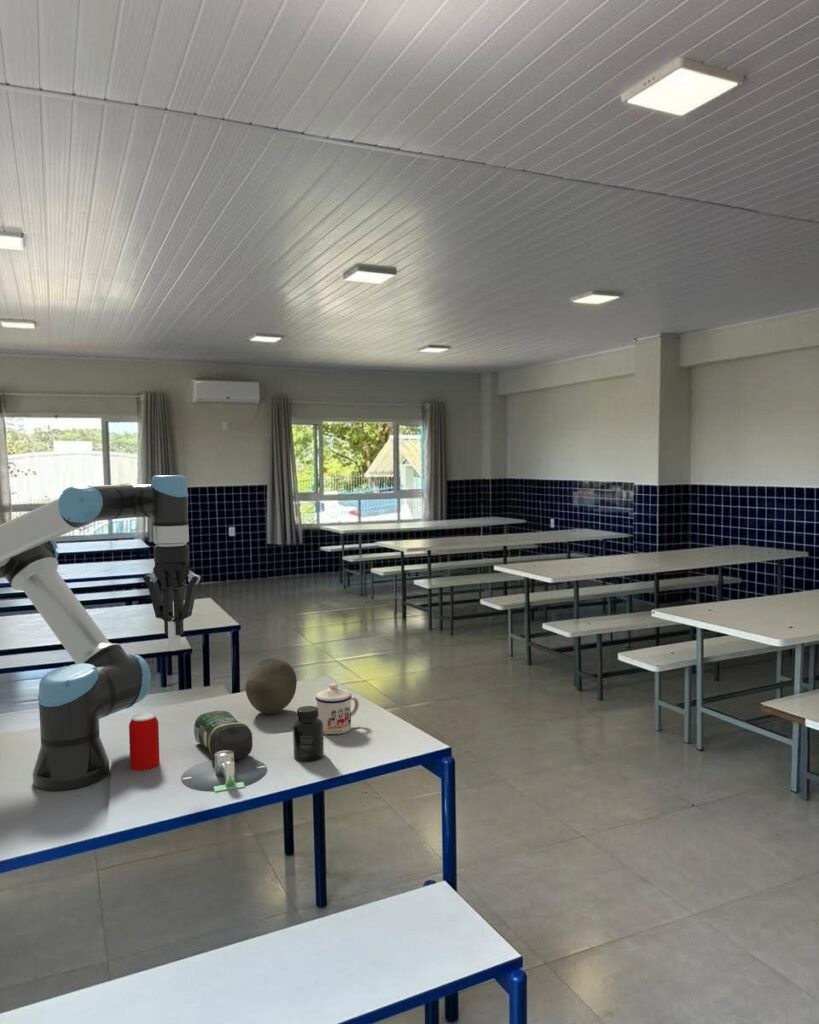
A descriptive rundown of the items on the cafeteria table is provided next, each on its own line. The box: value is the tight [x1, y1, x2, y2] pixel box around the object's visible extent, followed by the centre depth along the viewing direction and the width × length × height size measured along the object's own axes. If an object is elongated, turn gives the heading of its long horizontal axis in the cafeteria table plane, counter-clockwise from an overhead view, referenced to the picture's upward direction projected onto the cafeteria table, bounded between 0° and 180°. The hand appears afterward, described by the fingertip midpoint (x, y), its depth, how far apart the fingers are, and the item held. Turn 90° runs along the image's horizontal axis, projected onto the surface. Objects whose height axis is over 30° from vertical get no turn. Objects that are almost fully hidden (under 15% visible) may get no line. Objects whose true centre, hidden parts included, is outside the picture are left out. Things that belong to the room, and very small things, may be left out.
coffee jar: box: [193, 710, 253, 760], centre depth 172 cm, size 10×8×19 cm
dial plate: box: [180, 757, 268, 793], centre depth 159 cm, size 18×18×1 cm
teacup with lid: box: [315, 683, 360, 735], centre depth 189 cm, size 12×9×12 cm
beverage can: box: [128, 712, 161, 772], centre depth 164 cm, size 6×6×12 cm
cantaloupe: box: [245, 657, 298, 715], centre depth 200 cm, size 14×14×15 cm
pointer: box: [214, 750, 235, 786], centre depth 156 cm, size 10×4×5 cm, turn 23°
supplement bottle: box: [292, 705, 325, 763], centre depth 168 cm, size 7×7×12 cm
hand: (174, 649), depth 165 cm, fingers closed
